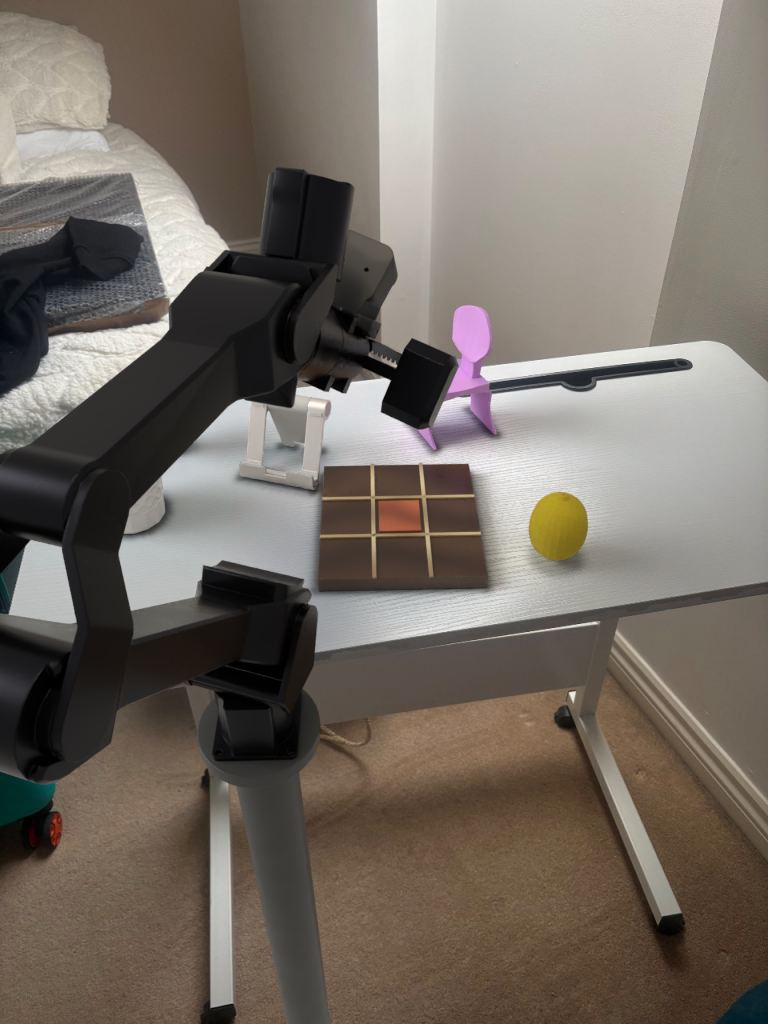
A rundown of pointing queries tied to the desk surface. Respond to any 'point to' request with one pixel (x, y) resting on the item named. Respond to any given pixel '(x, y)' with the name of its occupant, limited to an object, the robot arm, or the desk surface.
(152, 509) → the white cup
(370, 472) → the board
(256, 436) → the tablet stand
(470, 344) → the toy chair
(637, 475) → the desk surface
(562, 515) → the lemon
